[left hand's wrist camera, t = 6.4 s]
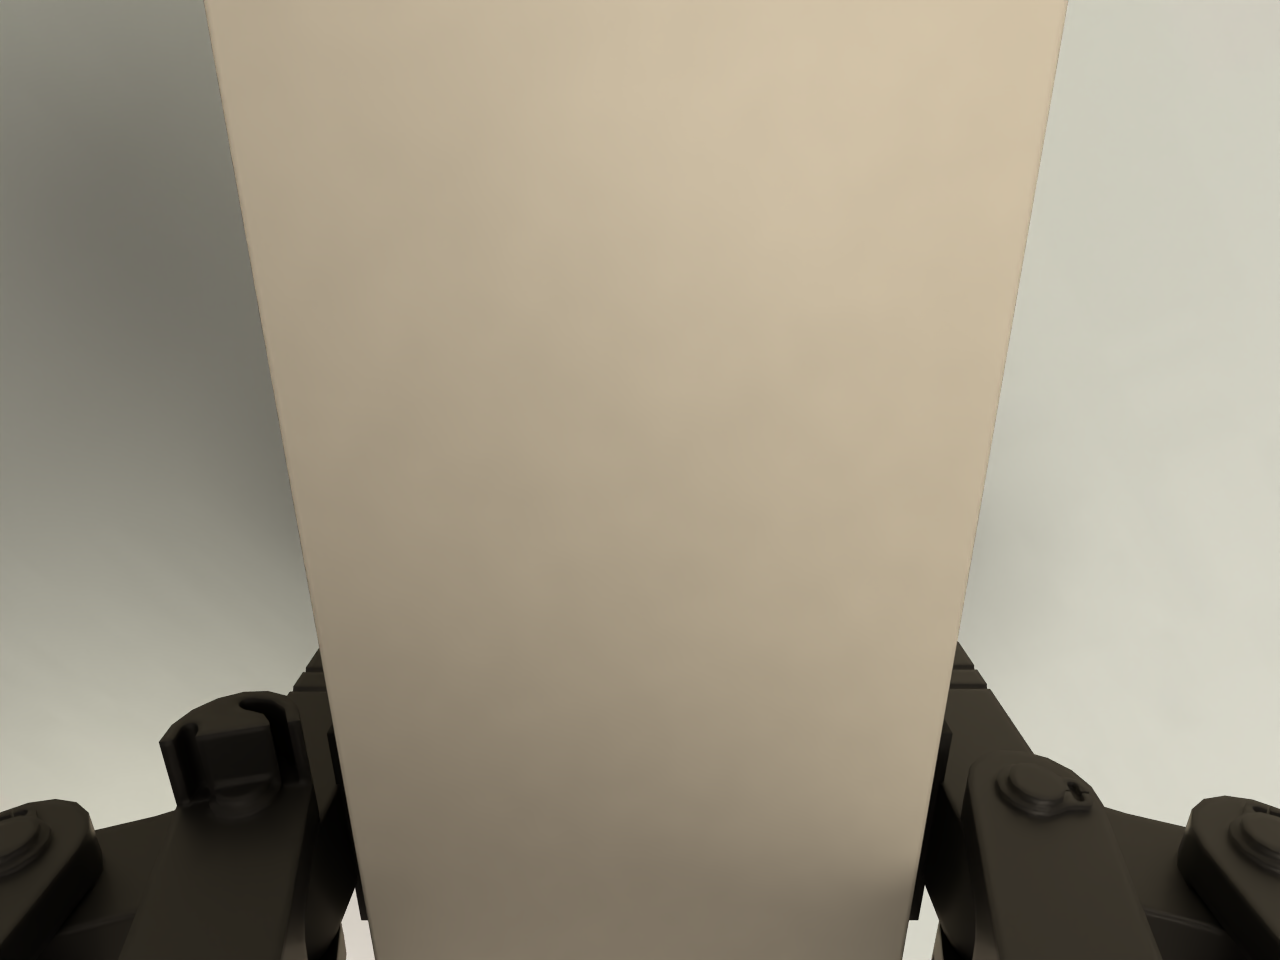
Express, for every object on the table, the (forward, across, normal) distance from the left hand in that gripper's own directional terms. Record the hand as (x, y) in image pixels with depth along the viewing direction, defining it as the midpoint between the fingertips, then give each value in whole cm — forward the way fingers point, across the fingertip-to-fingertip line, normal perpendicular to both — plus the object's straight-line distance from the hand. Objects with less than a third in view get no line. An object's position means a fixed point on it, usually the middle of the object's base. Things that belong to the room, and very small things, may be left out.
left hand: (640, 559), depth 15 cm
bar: (+1, 0, -18) cm, 18 cm away
